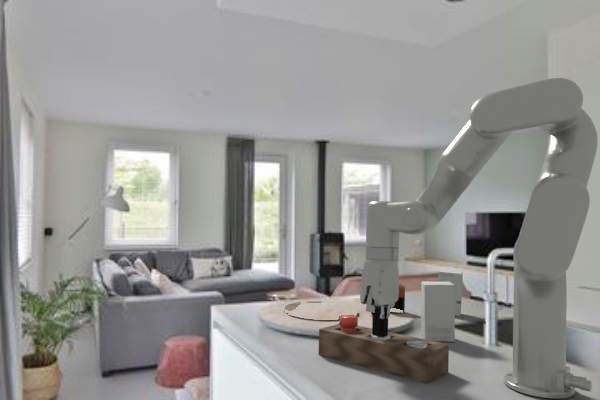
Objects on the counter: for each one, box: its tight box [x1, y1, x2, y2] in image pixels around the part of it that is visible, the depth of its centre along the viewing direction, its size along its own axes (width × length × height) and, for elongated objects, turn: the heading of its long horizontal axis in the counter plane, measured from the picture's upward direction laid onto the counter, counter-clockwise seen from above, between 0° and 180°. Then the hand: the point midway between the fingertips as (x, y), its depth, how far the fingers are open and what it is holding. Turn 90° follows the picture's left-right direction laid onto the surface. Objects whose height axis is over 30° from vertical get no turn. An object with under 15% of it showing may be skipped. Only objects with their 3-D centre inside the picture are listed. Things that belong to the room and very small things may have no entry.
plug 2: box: [406, 341, 427, 349], centre depth 102 cm, size 4×4×5 cm
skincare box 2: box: [437, 270, 464, 317], centre depth 166 cm, size 8×6×15 cm
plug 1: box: [371, 334, 391, 340], centre depth 108 cm, size 4×4×5 cm
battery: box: [392, 283, 406, 312], centre depth 167 cm, size 4×7×10 cm, turn 71°
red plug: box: [338, 315, 359, 333], centre depth 114 cm, size 4×4×5 cm
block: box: [318, 323, 450, 385], centre depth 108 cm, size 28×10×6 cm, turn 49°
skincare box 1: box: [420, 280, 456, 343], centre depth 131 cm, size 8×7×16 cm
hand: (379, 335), depth 108 cm, fingers closed
